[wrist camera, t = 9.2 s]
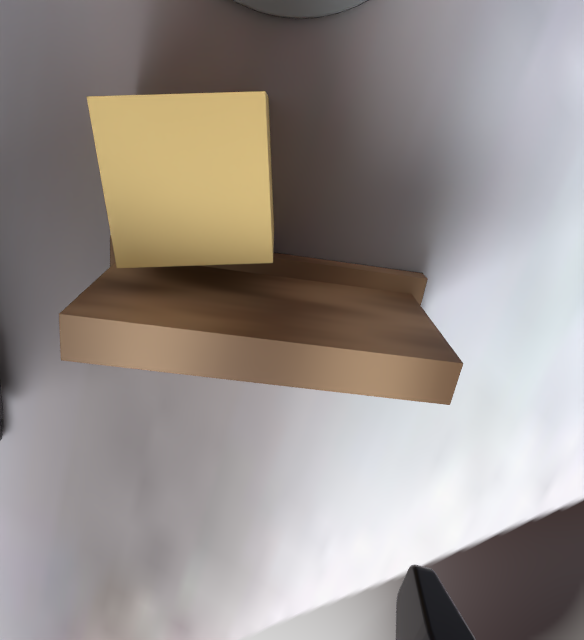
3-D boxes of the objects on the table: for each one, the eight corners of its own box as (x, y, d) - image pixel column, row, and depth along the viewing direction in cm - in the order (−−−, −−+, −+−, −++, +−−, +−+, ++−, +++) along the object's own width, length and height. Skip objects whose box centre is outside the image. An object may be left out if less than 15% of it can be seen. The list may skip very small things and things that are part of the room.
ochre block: (153, 232, 20) (116, 268, 16) (135, 100, 18) (86, 96, 14) (273, 228, 20) (273, 262, 16) (268, 96, 18) (265, 91, 14)
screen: (115, 299, 21) (44, 380, 15) (116, 231, 20) (39, 286, 14) (405, 335, 22) (458, 426, 16) (422, 273, 21) (486, 343, 15)
